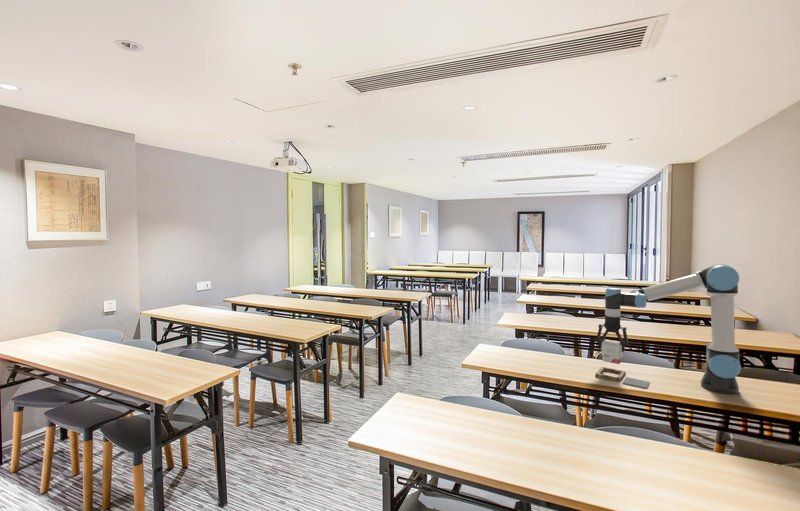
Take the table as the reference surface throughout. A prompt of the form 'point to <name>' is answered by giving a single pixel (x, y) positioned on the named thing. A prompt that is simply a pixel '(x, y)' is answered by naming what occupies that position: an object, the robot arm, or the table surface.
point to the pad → (636, 382)
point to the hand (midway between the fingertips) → (611, 355)
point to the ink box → (611, 351)
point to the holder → (618, 379)
